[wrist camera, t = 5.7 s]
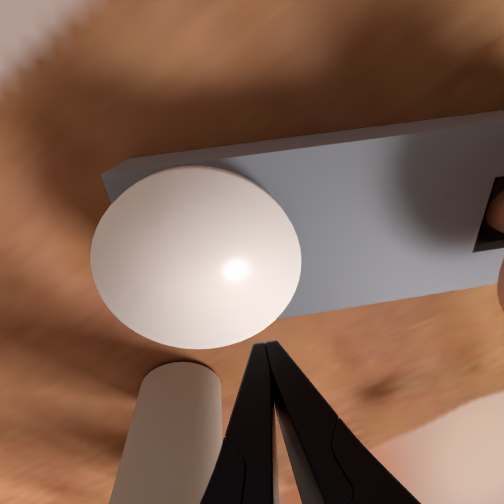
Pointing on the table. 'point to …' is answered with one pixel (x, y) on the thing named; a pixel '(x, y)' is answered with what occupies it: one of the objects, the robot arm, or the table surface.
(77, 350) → the table surface
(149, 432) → the travel mug
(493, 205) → the terracotta plug
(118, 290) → the ivory plug
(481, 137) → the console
